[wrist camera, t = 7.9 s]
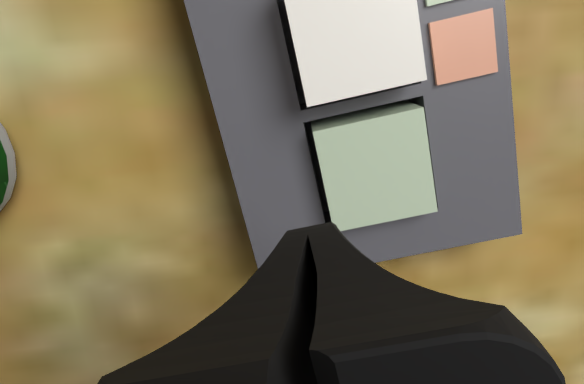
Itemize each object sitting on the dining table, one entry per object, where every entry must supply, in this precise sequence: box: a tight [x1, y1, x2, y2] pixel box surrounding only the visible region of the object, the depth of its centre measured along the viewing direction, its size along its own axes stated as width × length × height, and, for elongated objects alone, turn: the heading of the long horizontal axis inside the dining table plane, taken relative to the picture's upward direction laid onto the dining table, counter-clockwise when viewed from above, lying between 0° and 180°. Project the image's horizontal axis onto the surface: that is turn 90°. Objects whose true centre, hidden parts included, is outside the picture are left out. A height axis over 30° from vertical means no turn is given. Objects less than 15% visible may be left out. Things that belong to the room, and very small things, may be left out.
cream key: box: [284, 0, 427, 107], centre depth 17 cm, size 4×4×4 cm
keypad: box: [184, 0, 522, 269], centre depth 18 cm, size 20×12×3 cm, turn 13°
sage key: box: [311, 100, 438, 231], centre depth 19 cm, size 4×4×4 cm
